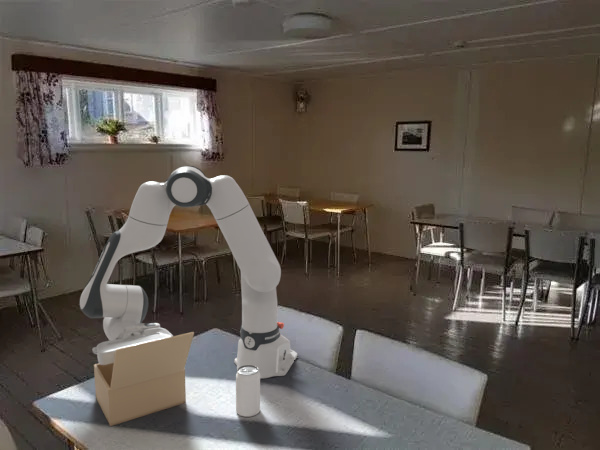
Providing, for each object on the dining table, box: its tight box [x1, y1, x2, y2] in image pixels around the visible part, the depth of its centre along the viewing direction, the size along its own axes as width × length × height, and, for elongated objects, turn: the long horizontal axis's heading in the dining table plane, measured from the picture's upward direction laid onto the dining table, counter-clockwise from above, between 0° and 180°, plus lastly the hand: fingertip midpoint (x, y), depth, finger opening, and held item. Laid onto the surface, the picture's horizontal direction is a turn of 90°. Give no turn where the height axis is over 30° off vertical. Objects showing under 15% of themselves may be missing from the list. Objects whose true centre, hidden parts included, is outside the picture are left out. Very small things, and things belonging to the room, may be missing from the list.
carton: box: [93, 363, 187, 427], centre depth 131 cm, size 16×20×10 cm
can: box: [235, 365, 261, 418], centre depth 126 cm, size 6×6×12 cm
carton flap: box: [110, 331, 195, 391], centre depth 119 cm, size 16×19×1 cm
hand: (144, 357), depth 124 cm, fingers closed
